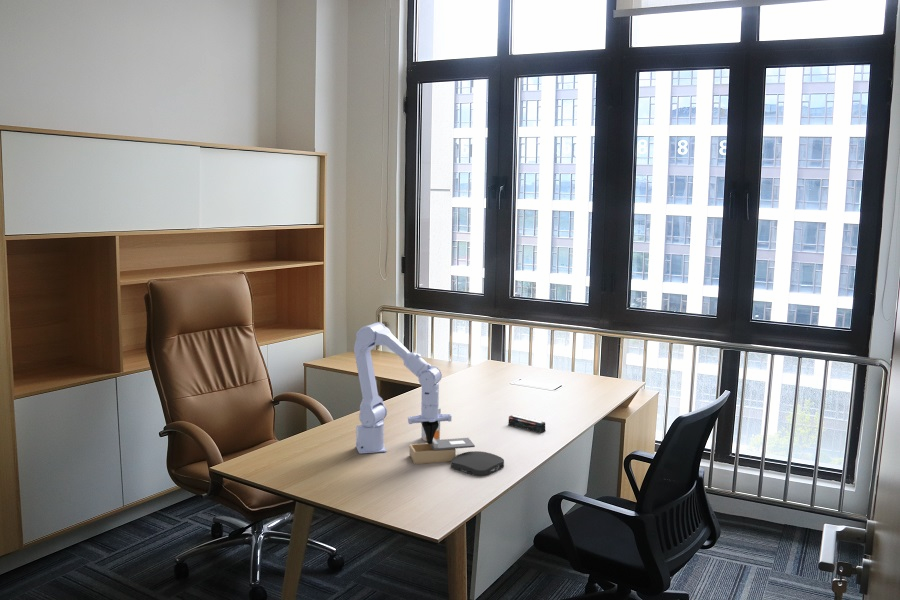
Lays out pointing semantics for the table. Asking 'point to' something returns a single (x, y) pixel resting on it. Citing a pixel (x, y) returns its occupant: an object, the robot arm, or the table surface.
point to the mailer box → (430, 454)
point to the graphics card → (527, 423)
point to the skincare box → (437, 433)
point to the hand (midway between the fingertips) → (429, 442)
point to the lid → (451, 443)
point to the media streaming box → (477, 463)
